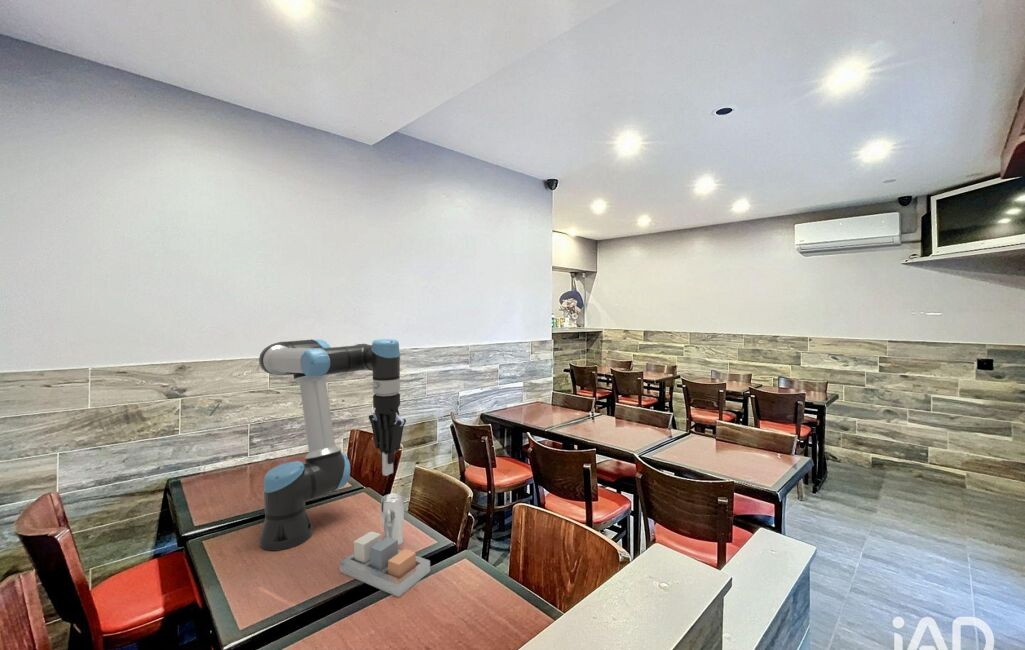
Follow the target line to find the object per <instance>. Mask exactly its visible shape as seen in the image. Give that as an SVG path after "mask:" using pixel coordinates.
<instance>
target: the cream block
mask: <svg viewBox="0 0 1025 650" xmlns="http://www.w3.org/2000/svg"><path fill="white" fill-rule="evenodd" d="M381 540H382V534H380V533H378V532H375V531H369V532H368V533H366V534H363V535H362V536H360V537H359V538H357V539H355V540H354V541H353V548H354V549H353V550H354V551H353V553H354V556H355V559H356V560H359V561H361V562H364V563H365V562H366V561H368V560H369V559H371V551H370V547H372V546H373V545H375V544H377V543H378V542H380V541H381Z"/></svg>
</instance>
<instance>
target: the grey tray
mask: <svg viewBox="0 0 1025 650" xmlns="http://www.w3.org/2000/svg"><path fill="white" fill-rule="evenodd" d="M401 551H402V550H401V549H399V548H398V553H400V552H401ZM339 565H340V566H339V567H340V568H339V569H340V573H341V574H343V575H346V576H349V577H351V578H352V579H356V580H358V581H360V582H362V583H364V584H367V585H369V586H371V587H374V588H376V589H379V590H381V591H383V592H385V593H388V594H389V595H392V596H394V597H396V598H399V597H401V596H402V595H403V594H404V593H406V592H407V591H408V590H409V589H411V588H412V587H413V586H415V585H416V584H417V583H418V582H419V581H421V579H423V578H424V577H425V576H427V575H428V574H429V573H430V572H431V560H430V559H426V558H424V557H421V556H418V555H416V567H415V568H414V569H412V570H411V571H410V572H408V573H407V574H406V575H404V576H403V577H402V578H400V579H398V578H395V577H393V576H390V575H389V574H388V565H387V566H386V567H384V568H383V569H379V568H376V567H374V566H371V559H369V560H368V561H366V562H365V563H364V562H361V561H359V560H356V559H355V556H354V552H353V553H352V554H350V555H348V556H347V557H345V558H343V559H342V560H340V561H339Z"/></svg>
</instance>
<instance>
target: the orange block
mask: <svg viewBox="0 0 1025 650" xmlns="http://www.w3.org/2000/svg"><path fill="white" fill-rule="evenodd" d="M416 556H417V554H416V552H414V551H412V550H408V549H405V548H404V549H403V550H401V552H400V553H398V554H397V555H396V556H394V557H393V558H391V559H390V560H388V574H389V575H390V576H393V577H395V578H398V579H400V578H402V577H403V576H404V575H406V574H407V573H408V572H410V571H411V570H412V569H414V568H415V567H416Z"/></svg>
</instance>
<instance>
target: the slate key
mask: <svg viewBox="0 0 1025 650" xmlns="http://www.w3.org/2000/svg"><path fill="white" fill-rule="evenodd" d="M398 549H399V545H398V540H396V539H393V538H390V537H386V538H385V537H384V538H383V539H381V541H380V542H378V543H377V544H375V545H373V546H372V547H370V551H371V566H374V567H376V568H379V569H383V568H384V567H386V566H387V565H388V560H390V559H391V558H393V557H394V556H396V555H397V554H398Z"/></svg>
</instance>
